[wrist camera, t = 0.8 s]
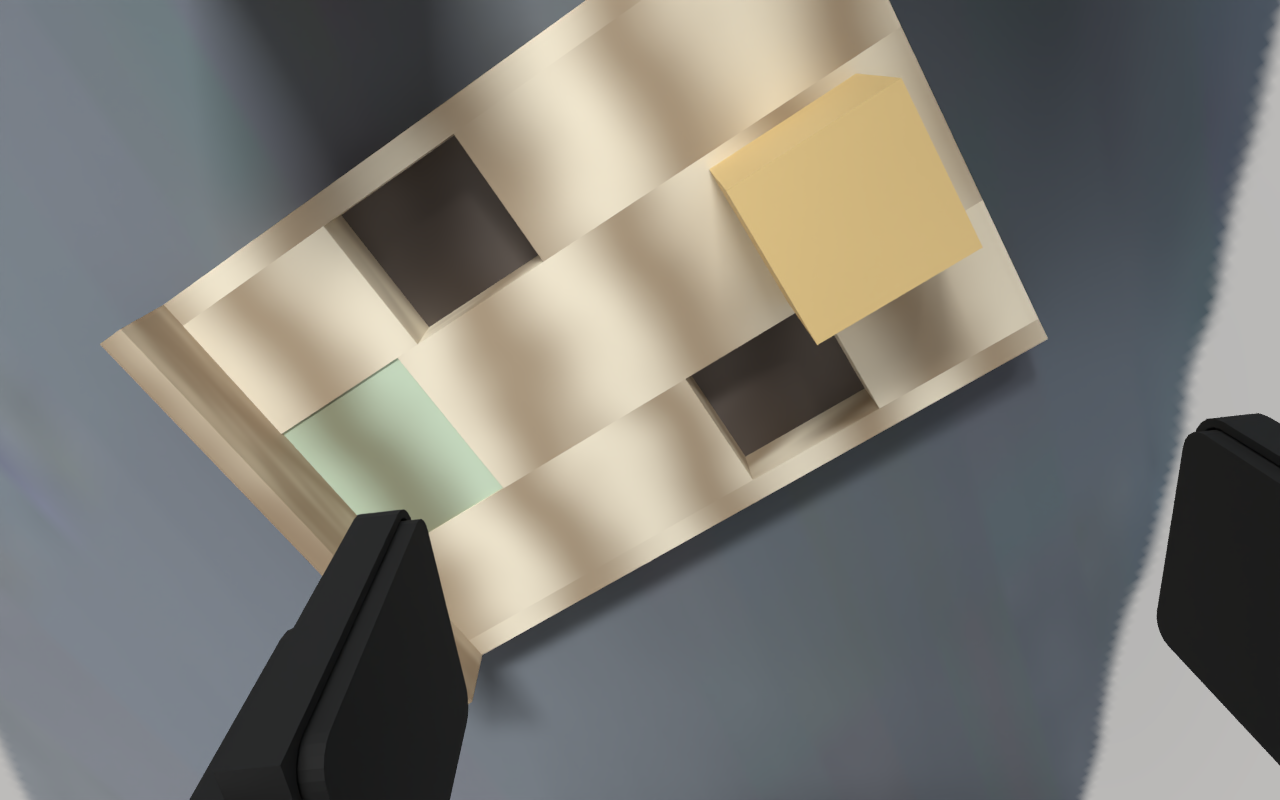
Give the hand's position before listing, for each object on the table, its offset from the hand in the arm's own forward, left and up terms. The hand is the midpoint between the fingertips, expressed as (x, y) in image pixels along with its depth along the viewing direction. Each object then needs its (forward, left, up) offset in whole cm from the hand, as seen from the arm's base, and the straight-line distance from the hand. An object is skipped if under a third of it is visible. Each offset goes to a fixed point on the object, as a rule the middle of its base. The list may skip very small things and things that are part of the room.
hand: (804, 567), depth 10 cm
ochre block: (-5, +2, -22) cm, 23 cm away
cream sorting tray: (+4, +2, -25) cm, 25 cm away
